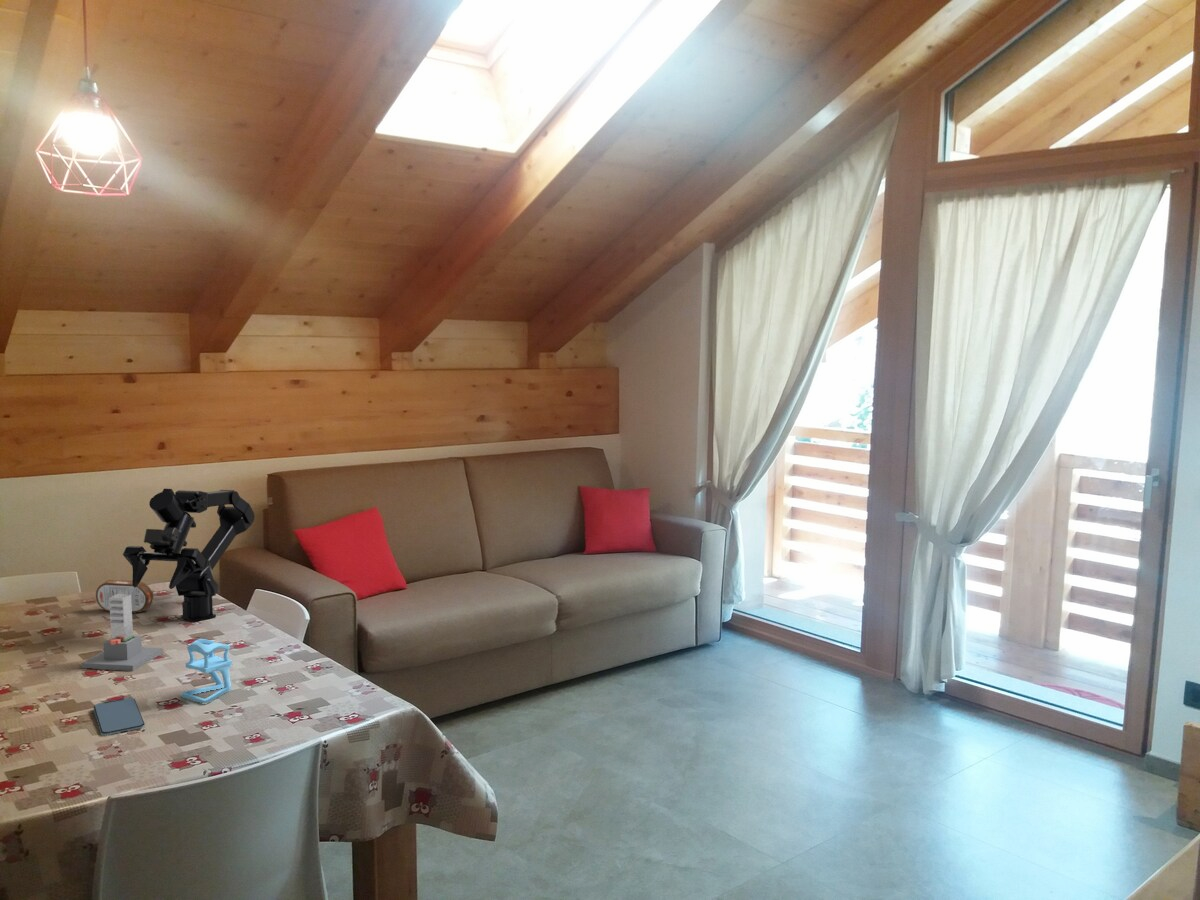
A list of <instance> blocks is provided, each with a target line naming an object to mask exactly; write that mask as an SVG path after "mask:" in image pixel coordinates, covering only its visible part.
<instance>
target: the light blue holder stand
mask: <svg viewBox="0 0 1200 900" xmlns="http://www.w3.org/2000/svg"><path fill="white" fill-rule="evenodd" d="M186 648H187V649H186V650H187V652H188V654H189V661H188V662H185V668H187V669H192V670H196V671H199V672H200V673H203V674H208V673H209V675H210V677H211V678H212V680H213V682H215V684H213V685H208V686H204V687H198V688H194V689H190V690H186V691H182V692H181V698H182V697H183V699H185V698H187V700H189V699H190V700H189V701H192V700H194V701H193V702H195V701H197V702H196V703H198V702H200V703H199V704H201V703H208V702H210V701H212V700H213V701H215V700H216V698H217V697H218V698H220V697H221V695H222V696H223V695H225V694H226V692H227V693H229V692H230V690H231V691H232V685H231V684H232V683H231V677H230V668H231V666H232V665H233V660H232V659H229V650H230V648H231V644H230V643H229V644H224V643H220V642H215V640H214V639H212V640H211V639H209V640H208V639H205V638H198V639H196V640H194V641H192V642H191V643H190V644H189V645H187V646H186ZM220 649H221V650H225V651H224V652H223V657H220V656H217V655H216V654H215V655H214V652H215V651H216V650H220ZM193 652H195V653H199V654H201V655H203V656H204V657H201V658H200V659H195V656H194V653H193ZM217 672H220V674H221V676H222V679H221V678H220V676H219V674H218V673H217ZM222 680H223V681H222ZM223 687H224V688H223ZM221 688H222V689H221ZM216 689H218V690H216ZM210 690H214V691H215V692H214V693H213V694H211V695H210V696H208V697H206V698H203V697H200V696H198V694H197V693H199V694H202V693H201V692H204V693H207V692H206V691H209V692H211V691H210ZM228 691H229V692H228ZM224 693H225V694H224ZM193 694H195V695H193ZM219 696H220V697H219ZM218 698H217V699H218ZM214 699H215V700H214ZM213 701H212V702H213ZM210 703H211V702H210ZM208 704H209V703H208Z"/></svg>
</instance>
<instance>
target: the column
mask: <svg viewBox="0 0 1200 900" xmlns="http://www.w3.org/2000/svg"><path fill="white" fill-rule="evenodd" d="M109 601H110V611H109V615H110V616H109V617H110V618H109V619H110V622H109V623H110V639H121V642H127V641H129V640H131V639H133V638H134V636H135V635H134V630H133V613H132V602H131V594H116V595H114V596H112V597H110V598H109Z"/></svg>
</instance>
